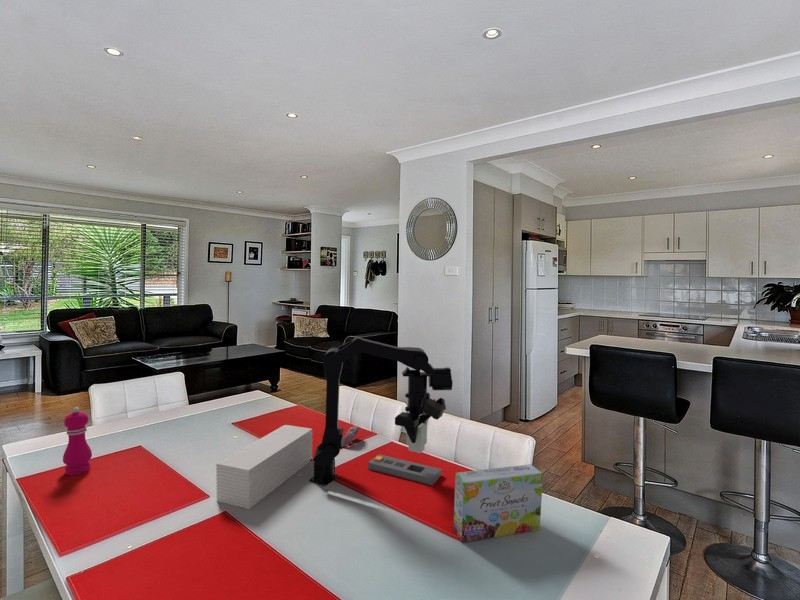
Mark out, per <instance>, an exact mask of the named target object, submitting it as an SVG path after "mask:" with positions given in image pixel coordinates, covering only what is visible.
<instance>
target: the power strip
mask: <svg viewBox="0 0 800 600" xmlns="http://www.w3.org/2000/svg"><path fill="white" fill-rule="evenodd" d="M367 469H368V470H370V471H374V472H378V473H383V474H386V475H391V476H394V477H399V478H401V479H402V478H403V479H406V480H410V481H413V482H418V483H422V484H426V485H430V486H433V485H434V484H435V483H436V482H437V481H439V478H440V477H441V476H442V468H438V467H434V466H430V465H427V464H426V465H425V464H422V463H417V462H413V461H408V460H406V459H405V460H404V459H399V458H396V457H392V456H387V455H384V454H377V455H376V456H375V457H373V458H372V459H370V460H369V461H368V462H367Z"/></svg>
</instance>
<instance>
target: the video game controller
mask: <svg viewBox="0 0 800 600" xmlns="http://www.w3.org/2000/svg"><path fill="white" fill-rule="evenodd" d="M360 429H361V428H360V427H359V426H356V425H354V426H351V427H349V429H348V431H346V433H345V436H343V439H344V442H343V447H344V446H346V445H351V443H352V442H353V441H355V440H356V436H357V435H358V433H359V432H360Z"/></svg>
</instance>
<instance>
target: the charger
mask: <svg viewBox="0 0 800 600" xmlns="http://www.w3.org/2000/svg"><path fill="white" fill-rule="evenodd" d="M427 430H428V424H427V423H426V424H425V423H422V424H421V425H420V426H418V430H417V437H416V442H415V443H412V442H411V440H410V438H409V436H408V433H407V432H406V438H405V439H406V445H407V446H408V450H407V451H409V452H415V453H418V454H421V453H423V452H424V451H425V445H426V444H427V442H428V440H427V439H428V437H427V435H428V431H427Z"/></svg>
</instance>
